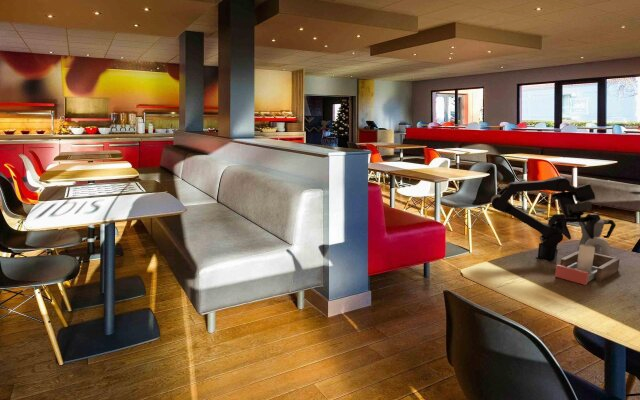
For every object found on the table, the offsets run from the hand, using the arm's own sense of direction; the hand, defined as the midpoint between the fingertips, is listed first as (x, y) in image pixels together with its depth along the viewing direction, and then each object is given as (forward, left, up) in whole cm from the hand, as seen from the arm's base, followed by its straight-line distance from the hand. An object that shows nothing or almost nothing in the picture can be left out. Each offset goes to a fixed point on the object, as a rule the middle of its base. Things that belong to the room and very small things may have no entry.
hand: (581, 238), depth 178 cm
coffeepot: (-6, +29, -13) cm, 32 cm away
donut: (-1, +20, -13) cm, 24 cm away
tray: (+3, -6, -13) cm, 15 cm away
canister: (+3, -2, -12) cm, 13 cm away
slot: (+3, +3, -13) cm, 14 cm away
